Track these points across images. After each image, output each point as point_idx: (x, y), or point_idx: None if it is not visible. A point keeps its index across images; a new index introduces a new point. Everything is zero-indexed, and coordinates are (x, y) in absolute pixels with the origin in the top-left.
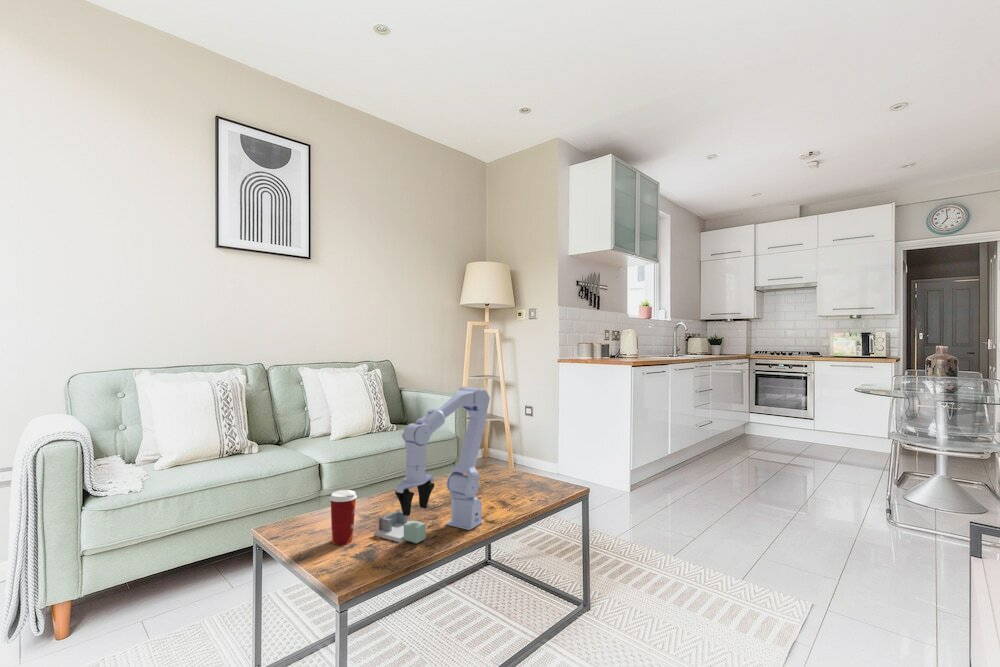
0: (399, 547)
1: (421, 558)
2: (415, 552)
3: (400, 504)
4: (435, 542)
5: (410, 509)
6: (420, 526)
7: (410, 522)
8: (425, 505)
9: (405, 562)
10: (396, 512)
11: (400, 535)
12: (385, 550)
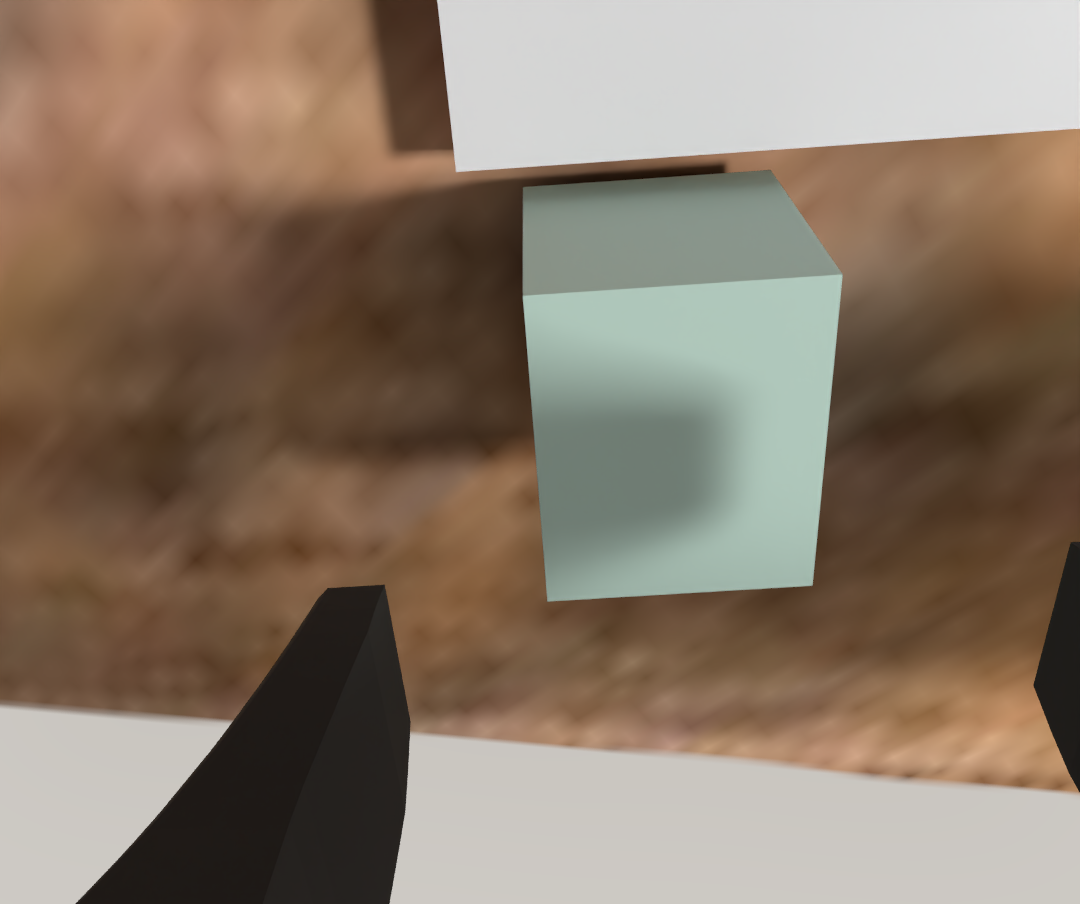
0: (327, 282)
1: None
2: (366, 554)
3: (172, 798)
4: None
5: (380, 886)
6: (648, 590)
7: (702, 328)
8: (1072, 753)
9: (97, 635)
10: None
11: (565, 72)
12: (95, 186)
